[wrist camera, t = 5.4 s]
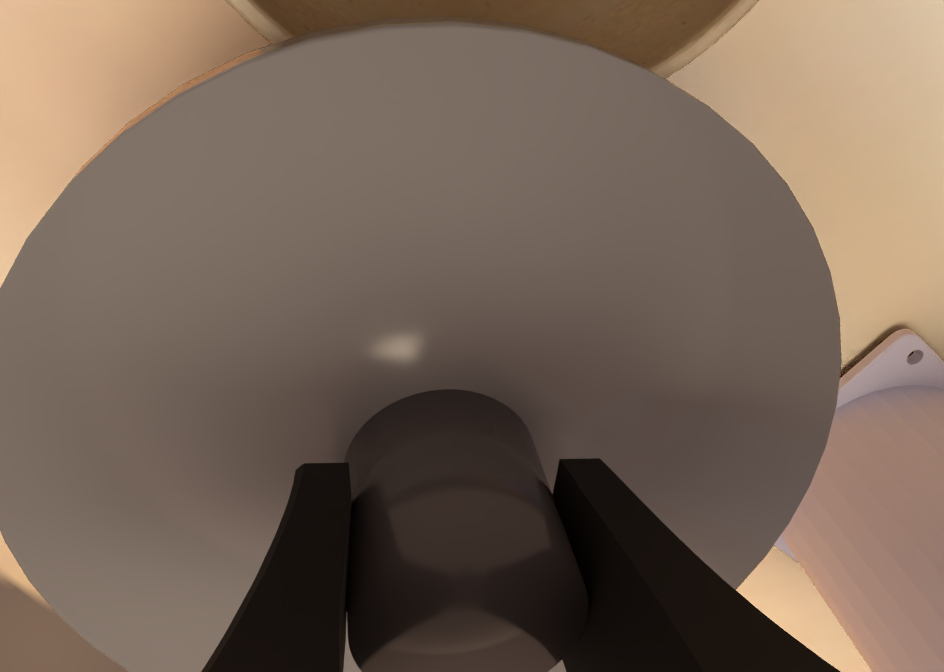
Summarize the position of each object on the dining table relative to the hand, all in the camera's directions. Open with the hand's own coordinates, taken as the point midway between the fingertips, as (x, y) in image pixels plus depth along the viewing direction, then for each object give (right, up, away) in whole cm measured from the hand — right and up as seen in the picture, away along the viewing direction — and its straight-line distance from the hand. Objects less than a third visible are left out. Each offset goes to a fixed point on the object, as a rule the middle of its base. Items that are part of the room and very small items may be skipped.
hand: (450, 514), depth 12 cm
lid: (0, +1, +2) cm, 2 cm away
